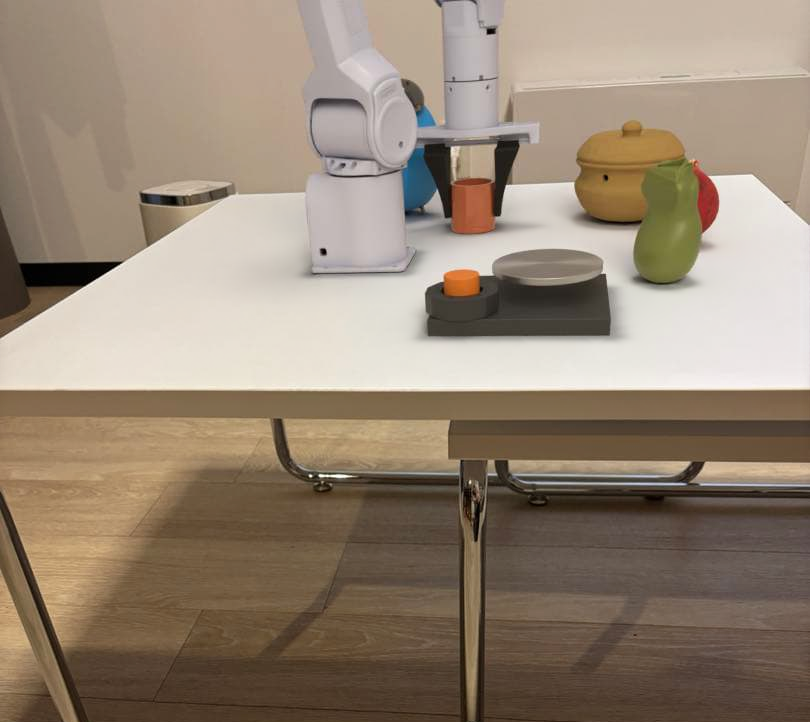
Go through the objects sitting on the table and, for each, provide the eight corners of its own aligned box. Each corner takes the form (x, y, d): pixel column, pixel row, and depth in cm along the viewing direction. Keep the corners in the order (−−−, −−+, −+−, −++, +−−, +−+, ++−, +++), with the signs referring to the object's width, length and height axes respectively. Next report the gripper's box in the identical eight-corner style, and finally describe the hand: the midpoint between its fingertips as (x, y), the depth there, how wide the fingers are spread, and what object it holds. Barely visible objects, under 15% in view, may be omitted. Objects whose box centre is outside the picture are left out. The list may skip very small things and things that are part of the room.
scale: (422, 338, 65) (420, 300, 63) (443, 291, 75) (441, 257, 73) (609, 338, 62) (612, 298, 61) (604, 289, 72) (607, 254, 71)
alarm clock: (446, 215, 101) (441, 75, 93) (408, 225, 98) (399, 81, 90) (381, 203, 110) (371, 74, 101) (343, 212, 107) (330, 80, 98)
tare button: (441, 299, 64) (441, 279, 63) (446, 288, 67) (445, 269, 66) (477, 299, 64) (477, 279, 63) (481, 288, 66) (480, 268, 65)
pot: (552, 224, 94) (556, 126, 88) (604, 203, 101) (610, 112, 95) (648, 235, 87) (658, 130, 82) (696, 212, 94) (708, 114, 89)
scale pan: (487, 287, 65) (487, 279, 65) (496, 256, 72) (496, 249, 72) (604, 285, 63) (605, 277, 63) (601, 254, 71) (601, 247, 70)
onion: (716, 253, 79) (728, 163, 75) (654, 254, 81) (663, 166, 76) (710, 238, 84) (721, 153, 80) (651, 239, 85) (659, 155, 81)
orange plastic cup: (448, 234, 93) (447, 187, 90) (454, 224, 97) (452, 178, 94) (493, 233, 92) (493, 185, 89) (496, 222, 96) (496, 176, 93)
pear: (707, 282, 72) (724, 158, 67) (664, 294, 70) (678, 167, 65) (659, 269, 76) (672, 151, 71) (617, 281, 74) (626, 160, 69)
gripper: (542, 72, 88) (539, 205, 96) (409, 80, 91) (416, 209, 98) (540, 77, 82) (536, 219, 90) (397, 86, 85) (406, 223, 92)
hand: (473, 215), depth 94 cm, fingers closed on orange plastic cup, 5 cm apart
